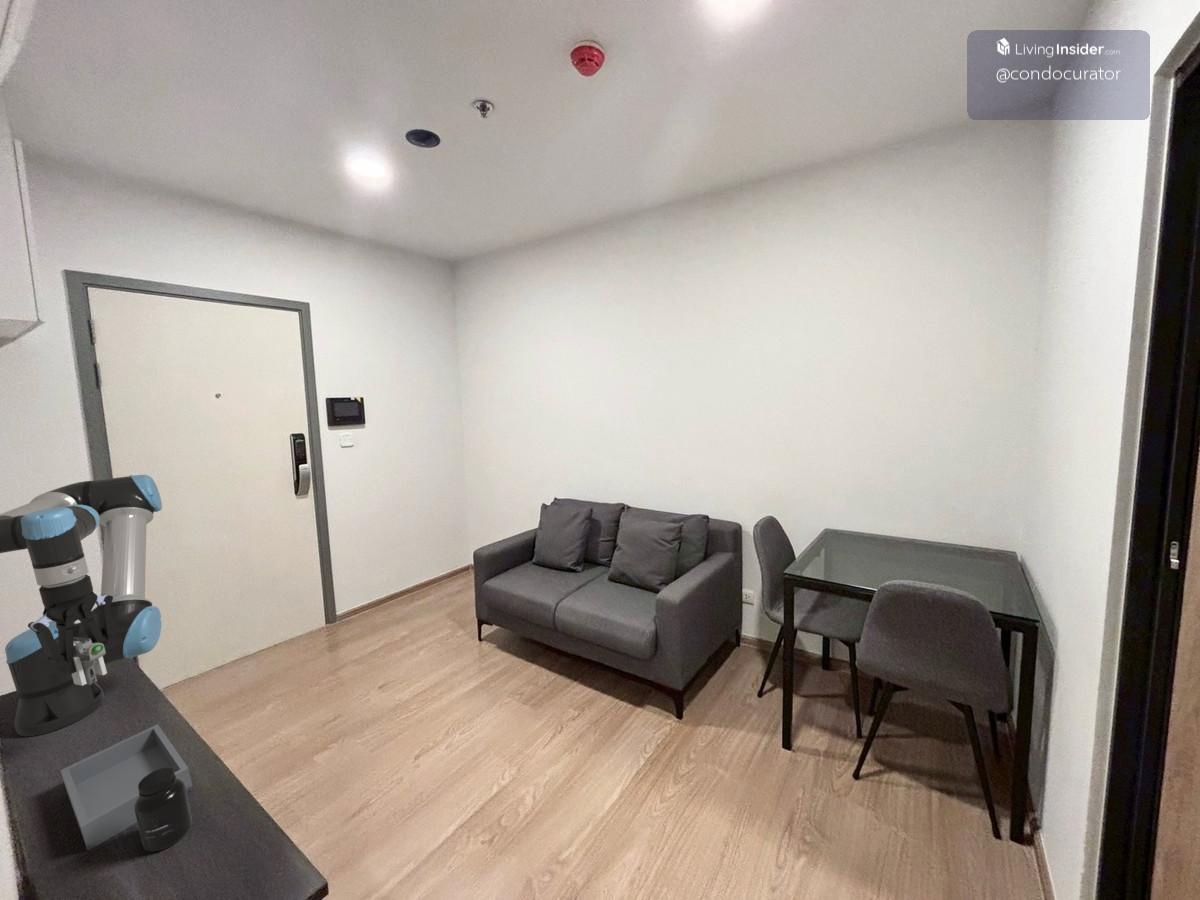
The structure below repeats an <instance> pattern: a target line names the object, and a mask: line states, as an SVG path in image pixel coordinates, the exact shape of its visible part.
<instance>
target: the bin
mask: <svg viewBox="0 0 1200 900" xmlns="http://www.w3.org/2000/svg"><path fill="white" fill-rule="evenodd" d="M166 767H170V768H173V770H174V773H175V776H176V778H177V779H180V780H182V781H183V782H184V784H185V788H186V792H187V791H189V790H191V789H192V788H193V789H194V785H193V782H192V778H191V773H190V769H189V767H188V766H187V764H186V763H185V761H184V760H183V758H182V757H181V755H180V754H179V752H178V750H176V748H175V747H174V745H173V744H172V742H171V741H170V739H169V738H168V737H167V735H166V734H165V732H164V731H163V730H162V728H161V726H160V725H159V724H158V723H157V724H155V725H153V726H150V727H149V728H147V729H145V730H142V731H140V732H138V733H136V734H134V735H131V736H130V737H128V738H125V739H123V740H121V741H119V742H117V743H114V744H113V745H110V746H108V747H107V748H104V749H102V750H100V751H98V752H95V753H94V754H91V755H89V756H88V757H85V758H83V759H80V760H79V761H78V762H74V763H73V764H70V765H69V766H66V767H65V768H61V770H60V774H61V775H62V780H63V783H64V786H65V790H66V793H67V796H68V800H69V802H70V804H71V807H72V810H73V813H74V816H75V820H76V821H77V825H78V828H79V830H80V833H81V836H82V838H83V842H84V845H85V847H86V850H87V851H88V852H89V851H90V850H92V849H93V848H96V847H97V846H99V845H100V844H102V843H104V842H106V841H108V840H109V839H111V838H114V837H115V836H116V835H118V834H119V833H121V832H123V831H125V830H126V829H128V828H130V827H132V826H134V825H135V824H138V823H137V819H136V814H135V809H134V806H135V803H136V801H137V799H138V797H139V790H138V785H139V783H140V781H141V780H142V779H143V778H144V777H145V776H147V775H148V774H150V773H152V772H153V771H156V770H158V769H161V768H166Z"/></svg>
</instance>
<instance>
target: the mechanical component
mask: <svg viewBox="0 0 1200 900" xmlns="http://www.w3.org/2000/svg"><path fill="white" fill-rule="evenodd" d="M81 641H82V642H81ZM73 644H74V656H78V657H80V660H81V664H82V668H83V671H84V674H85V678H86V682H87V685H91V684H92V681H95V682H98V679H97V674H95V671H94V667H93V664H94V663H95V660H96V659H98V658H100V657H102V656H104V655H105V654H106V652H105V648H104V645H103V644H102V643H92V641H91V639H90V638H87V639H86V638H79V637H74V638H73Z"/></svg>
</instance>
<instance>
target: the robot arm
mask: <svg viewBox="0 0 1200 900" xmlns="http://www.w3.org/2000/svg"><path fill="white" fill-rule="evenodd" d="M162 502H163V501H162V498H161V495H160V491H159V488H158V486H157V484H156V482H155V480H154V479H153V478H152V477H151V475H147V474H136V475H132V474H130V475H128V476H121V477H111V478H103V479H94V480H85V481H80V482H79V481H78V482H74V483H71V484H67V485H64V486H61V487H57V488H55V489H52V490H49V491H47V492H44V493H41V494H39V495H37V496H35V497H34V498H32V500H31V501H30V502H29V503H26V504H23V505H21V506H18V507H15V508H13V509H11V510H8V511H5V512H3V513H0V554H3V553H9V552H16V551H21V550H27V552H28V554H29V558H30V561H31V566H32V569H33V574H34V577H35V581H36V584H37V585H38V586H40V587H39V589H38V591H39V595H40V598H41V601H42V605H43V607H44V608H43V609H44V610H43V612H42V616H40V617H39V618H38V619H37V620H36V621H31V622H29V623H28V624H27V627H28V628H29V629H28V630H25V631H23V632H21V633H20V634H18V635H17V636H15V637H14V638H12V639H10V640H9V641H8V643H6V645H5V648H4V651H5V652H4V653H5V655H6V663H5V664H7V666H8V669H9V672H10V675H11V679H12V681H13V685H14V687H15V690H16V694H17V697H18V702H17V708H16V712H15V718H14V729H15V731H16V734H17V735H19V736H20V737H35V736H39V735H44V734H48V733H51V732H53V731H56V730H60V729H63V728H65V727H68V726H69V725H71V724H74V723H76V722H78V721H81V720H83V719H84V718H85V717H88V715H90V714H92V713H93V712H95V711H96V710H97V709H99V708H100V707H101V705H103V704H104V701H105V700H106V697H105V693H104V690H103V688H102V687H101V686H100V685H99V684H98V683H97V681H92V684H91V685H87V682H86V678H85V674H84V671H83V668H82V664H81V660H80V657H78V656H74V644H73V638H74V637H79V638H86V639H87V638H90V639H91V641H92V643H102V644H103V645H104V648H105V652H106V654H105V655H104V656H102V657H100V658H98V659H96V660H95V663H94V664H93V667H94V671H95V675H98V676H99V675H100V676H105V675H107V674H108V672H107V667H106V665H107V664H112V663H115V662H120V661H123V660H129V659H133V658H135V657H136V656H141V655H144V654H147V653H149V652H151V651H152V650H153V649H155V647H156V645H157V644H158V642H159V639H160V637H161V636H160V635H161V631H162V620H161V618H162V615H161V611H160V609H159V607H157V606H154V605H153V602H152V601H151V600H150V599H147V598H145V597H146V563H147V562H146V561H147V559H146V557H147V550H146V549H147V525H148V524H149V523H151V522H152V521H153V520H154V513H158V512H161V511H162V508H163V504H162ZM99 524H100V525H102V526H104V535H103V536H104V540H103V554H102V555H103V556H102V569H101V571H102V572H101V574H102V575H101V584H100V585H101V586H100V588H101V589H100V595H97V594H96V593H95V592H94V587H93V584H92V583H93V582H92V580H91V579H92V578H91V576H90V575H88V573H89V569H88V565H87V561H86V556H85V552H84V548H83V545H82V540H84V539H86V538H87V537H88V536H90V535H92V533H94V531H95V530H96V529H97V527H98V526H99ZM95 605H96V606H95ZM94 606H95V607H94ZM77 621H79V622H77ZM81 642H82V641H81Z"/></svg>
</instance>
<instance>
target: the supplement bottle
mask: <svg viewBox="0 0 1200 900" xmlns="http://www.w3.org/2000/svg"><path fill="white" fill-rule="evenodd" d="M138 790H139V797H138V799H137V801H136V803H135V806H134V809H135V814H136V819H137V823H136V824H137V825H138V830H139V831H138V832H139V835H140V839H141V844H142V847H143V849H144V850H145V851H147V852H152V853H153V852H154V853H155V852H160V851H162V850H163V851H164V850H166V849H168V848H170V847H171V846H173V845H175V844H176V843H178V842H179V841H181V840H183V838H184V837H185V836H186V835H187V834H188V832H189V831H190V829H192V825H193V817H192V812H191V807H190V802H189V798H188V793H187V792H186V788H185V784H184V782H183V781H182V780H180V779H177V778H176V776H175V773H174V770H173V768H170V767H166V768H161V769H158V770H156V771H153V772H152V773H150V774H148V775H147V776H145V777H144V778H143V779H142V780H141V781H140V783H139V785H138Z"/></svg>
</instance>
